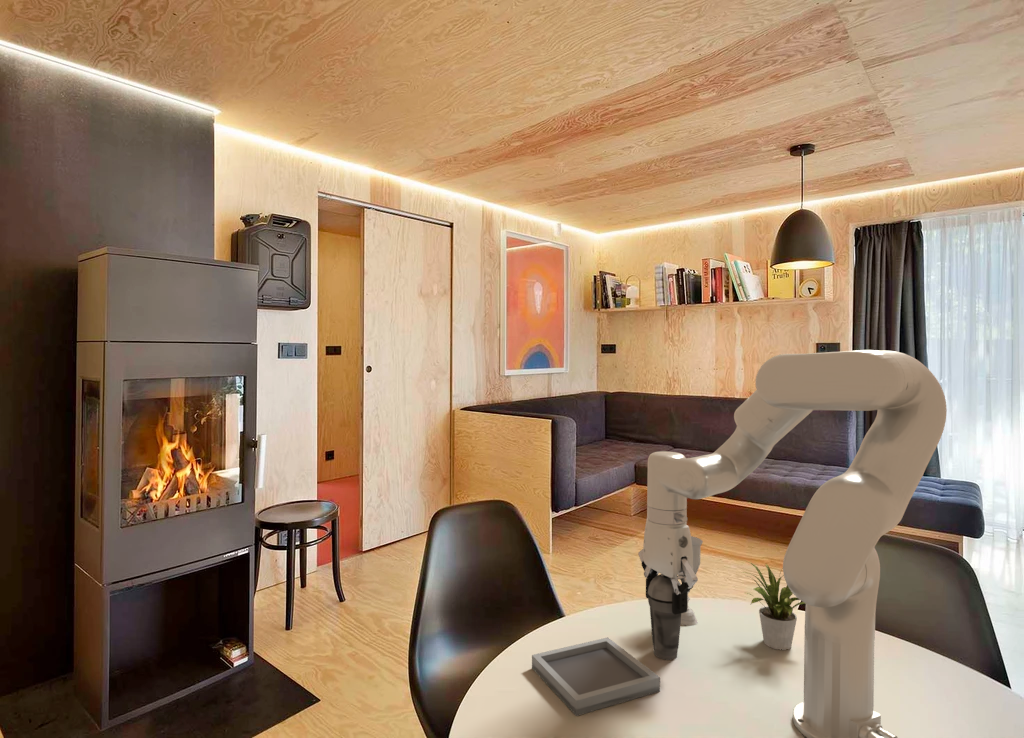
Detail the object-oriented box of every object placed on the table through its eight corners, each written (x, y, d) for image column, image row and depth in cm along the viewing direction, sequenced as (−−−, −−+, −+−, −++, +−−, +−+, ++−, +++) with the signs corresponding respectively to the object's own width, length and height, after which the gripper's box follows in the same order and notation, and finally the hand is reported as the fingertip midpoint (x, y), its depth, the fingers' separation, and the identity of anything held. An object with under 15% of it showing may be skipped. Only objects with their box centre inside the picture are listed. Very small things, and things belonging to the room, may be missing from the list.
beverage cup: (686, 665, 110) (687, 560, 109) (647, 661, 111) (647, 557, 111) (682, 646, 117) (683, 548, 117) (646, 643, 118) (646, 545, 118)
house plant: (719, 636, 121) (720, 559, 121) (758, 620, 129) (759, 548, 129) (783, 667, 109) (784, 581, 109) (822, 647, 117) (823, 567, 117)
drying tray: (659, 691, 101) (660, 677, 101) (576, 715, 94) (576, 700, 94) (607, 649, 115) (607, 637, 115) (531, 668, 108) (531, 654, 108)
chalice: (663, 615, 131) (664, 536, 131) (689, 611, 133) (689, 533, 133) (682, 629, 124) (682, 546, 124) (708, 625, 126) (709, 543, 126)
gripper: (713, 524, 107) (712, 619, 107) (653, 503, 123) (652, 586, 123) (682, 529, 104) (681, 626, 104) (624, 506, 120) (623, 591, 120)
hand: (665, 604), depth 114 cm, fingers closed on beverage cup, 7 cm apart
